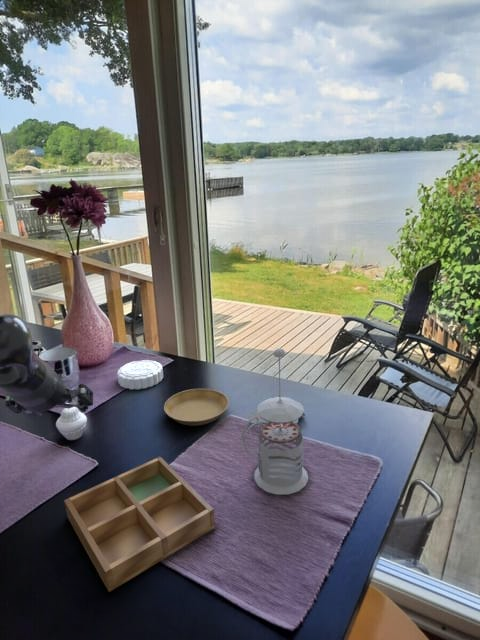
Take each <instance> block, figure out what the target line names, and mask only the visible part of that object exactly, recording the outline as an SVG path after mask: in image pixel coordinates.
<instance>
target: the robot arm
mask: <svg viewBox="0 0 480 640" xmlns="http://www.w3.org/2000/svg"><path fill="white" fill-rule="evenodd" d="M33 344H34V343H33V338H32V333H31V330H30V327H29V325H28V323H27V322H26V321H25V320H24V319H23V318H22V317H20V316H18V315H15V314H11V313H3V314H1V313H0V390H1V391H3V392H4V393H5V400H4V401H5V403H4V406H5V407H6V408H7V409H9V410H10V411H11V412H13V414H17V415H18V414H21V413H22V411H23V412H24V413H26V414H30V415H34V416H35V417H37V418H39V417H42V414H43V413H45V412H48V411H51V410H52V409H54V408H56V409H57V408H62V409H65V408H72V407H76V408H78V410H79V412H81V413H85V412H87V410H89V407H92V406H93V405H94V391H93V390H92V389H90V387H88V386H87V385H86V384H85V383H80V384H78V385H77V386H78V387H77V388H71V387H69V386H66V385H65V383H64V381H63V380H62V377H61V376H60V375H59V374H58V373H57V372H56V371H55V370H54V369H53V368H52V367H51V366H50V364H49V363H47V362H46V361H45V360H43V359H42V358H41V357H40V355H38V354H37V353H36V352H35V350H34V345H33ZM76 398H77V401H76Z"/></svg>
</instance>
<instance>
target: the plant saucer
mask: <svg viewBox="0 0 480 640" xmlns="http://www.w3.org/2000/svg"><path fill="white" fill-rule="evenodd" d="M229 404H230V401H229V398H228V396H226V395H225V394H224V392H221V391H218V390H216V389H210V388H192V389H187V390H186V389H185V390H183V391H180V392H177V393H175V394H172V396H170V397H168V399H167V400H166V401H165V402H164V405H163V410H164V413H165V414H166V415H167V416H168V417H169V418H170V419H172V420H173V421H175V422H177V423H178V424H181V425H185V426H188V427H189V426H190V427H191V426H192V427H193V426H194V427H196V426H197V427H198V426H203V425H208V424H209V423H212V422H215V421H216V420H217V419H219V418H220V417H221V416H222V415H223V414H224V413H225V412H226V410H227V408H229Z"/></svg>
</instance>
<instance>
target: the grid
mask: <svg viewBox="0 0 480 640" xmlns="http://www.w3.org/2000/svg"><path fill="white" fill-rule="evenodd" d="M63 502H64V508H65V511H66V515H67V520H68V522H69V523H70V525H71V526H72V528H73V530H74V532H75V534H76V535H77V537H78V539H79V541H80V543H81V544H82V546H83V548H84V550H85V552H86V554H87V555H88V557H89V559H90V560H91V562H92V564H93V566H94V567H95V569H96V572H97V573H98V575H99V577H100V580H101V581H102V583H103V584H104V586H105V588H106V589H107V591H108V593H110V592H112V591H113V590H115V589H117V588H118V587H120V586H122V585H123V584H125V583H127V582H129V581H130V580H132V579H133V578H135V577H137V576H138V575H140V574H142V573H144V572H145V571H146V570H148V569H150V568H151V567H153V566H155V565H156V564H158V563H160V562H161V561H163V560H165V559H166V558H168V557H169V556H171V555H173V554H174V553H176V552H178V551H179V550H181V549H182V548H184V547H186V546H187V545H190V544H191V543H192V542H194V541H196V540H198V539H199V538H200V537H202V536H204V535H206V534H208V533H209V532H211V531H212V530H214V529H215V528H216V520H215V519H216V517H215V509H214V507H212V505H210V504H209V503H208V502H207V501H206V500H205V499H204V498H203V497H202V495H200V493H198V492H197V491H196V490H195V489H194V488H193V487H192V486H191V485H190V484H189V483H188V482H187V481H186V480H185V479H184V478H183V477H182V476H181V475H180V474H178V472H177V471H176V470H175V469H174V468H173V467H171V466H170V465H169V463H168V462H167V461H165V459H164V458H162V456H157V457H156V458H154V459H152V460H149V461H147V462H145V463H143V464H140V465H138V466H136V467H134V468H131V469H130V470H128V471H127V470H126V471H125V472H123V473H121V474H119V475H116V476H114V477H112V478H110V479H108V480H105V481H104V482H101V483H98V484H97V485H94V486H93V487H90V488H89V489H85V490H84V491H82V492H79V493H76V494H75V495H73V496H70V497H69V498H66V499H64V500H63Z"/></svg>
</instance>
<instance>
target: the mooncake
mask: <svg viewBox="0 0 480 640" xmlns="http://www.w3.org/2000/svg"><path fill="white" fill-rule="evenodd" d="M163 370H164V369H163V365H162V364H161V363H160V362H157V361H155V360H151V359H142V360H134V361H133V360H132V361H130V362H127V363H125V364H124V365H122V366H121V367H119V369H118V370H117V372H116V375H117V383H118V384H119V386H120V387H122V388H124V389H129V390H136V391H137V390H142V389H143V390H145V389H147V388H152V387H154V386H155V385H158V384H159V383H160V382H162V380H163V379H164V371H163Z"/></svg>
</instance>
